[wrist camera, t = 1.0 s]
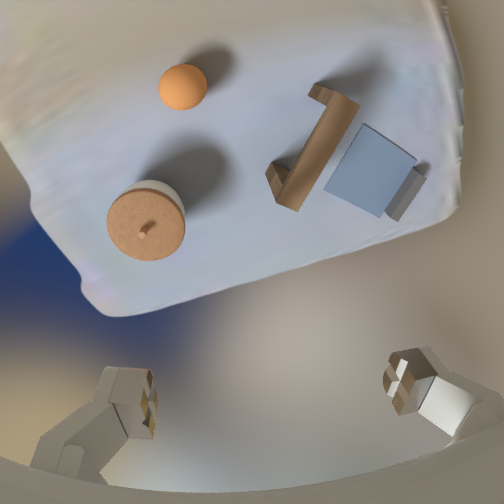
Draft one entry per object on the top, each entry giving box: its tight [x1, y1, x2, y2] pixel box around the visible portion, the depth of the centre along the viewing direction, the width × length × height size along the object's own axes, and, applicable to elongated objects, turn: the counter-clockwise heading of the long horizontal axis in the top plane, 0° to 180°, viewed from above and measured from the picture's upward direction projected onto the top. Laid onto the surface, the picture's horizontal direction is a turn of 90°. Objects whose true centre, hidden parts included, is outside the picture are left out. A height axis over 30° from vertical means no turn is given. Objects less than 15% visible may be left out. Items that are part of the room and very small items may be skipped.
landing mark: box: [324, 124, 417, 218], centre depth 47 cm, size 12×12×1 cm
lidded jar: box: [107, 180, 185, 261], centre depth 43 cm, size 11×11×9 cm
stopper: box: [384, 168, 426, 222], centre depth 49 cm, size 9×2×2 cm, turn 154°
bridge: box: [265, 84, 360, 212], centre depth 39 cm, size 3×15×10 cm, turn 154°
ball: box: [158, 64, 207, 110], centre depth 35 cm, size 6×6×6 cm
